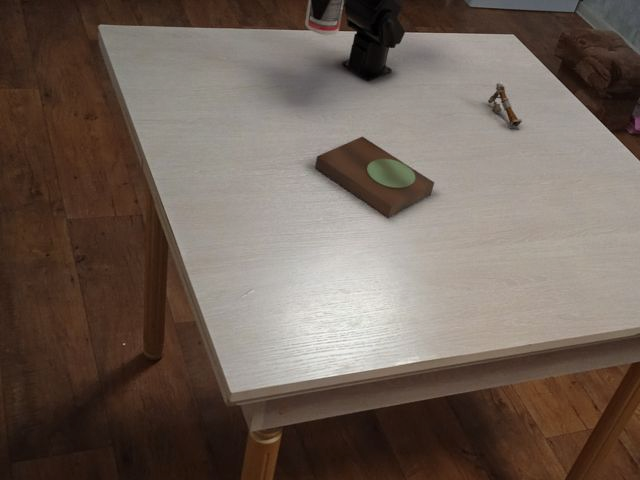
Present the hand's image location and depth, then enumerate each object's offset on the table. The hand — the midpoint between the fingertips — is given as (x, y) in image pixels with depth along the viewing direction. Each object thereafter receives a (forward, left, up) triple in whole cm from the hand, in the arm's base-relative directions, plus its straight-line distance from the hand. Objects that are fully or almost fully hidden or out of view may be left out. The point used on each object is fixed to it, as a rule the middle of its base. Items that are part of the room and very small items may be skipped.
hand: (323, 12), depth 127 cm
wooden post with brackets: (-22, +24, -12) cm, 34 cm away
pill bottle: (0, 0, -3) cm, 3 cm away
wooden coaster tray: (+12, +24, -12) cm, 30 cm away
